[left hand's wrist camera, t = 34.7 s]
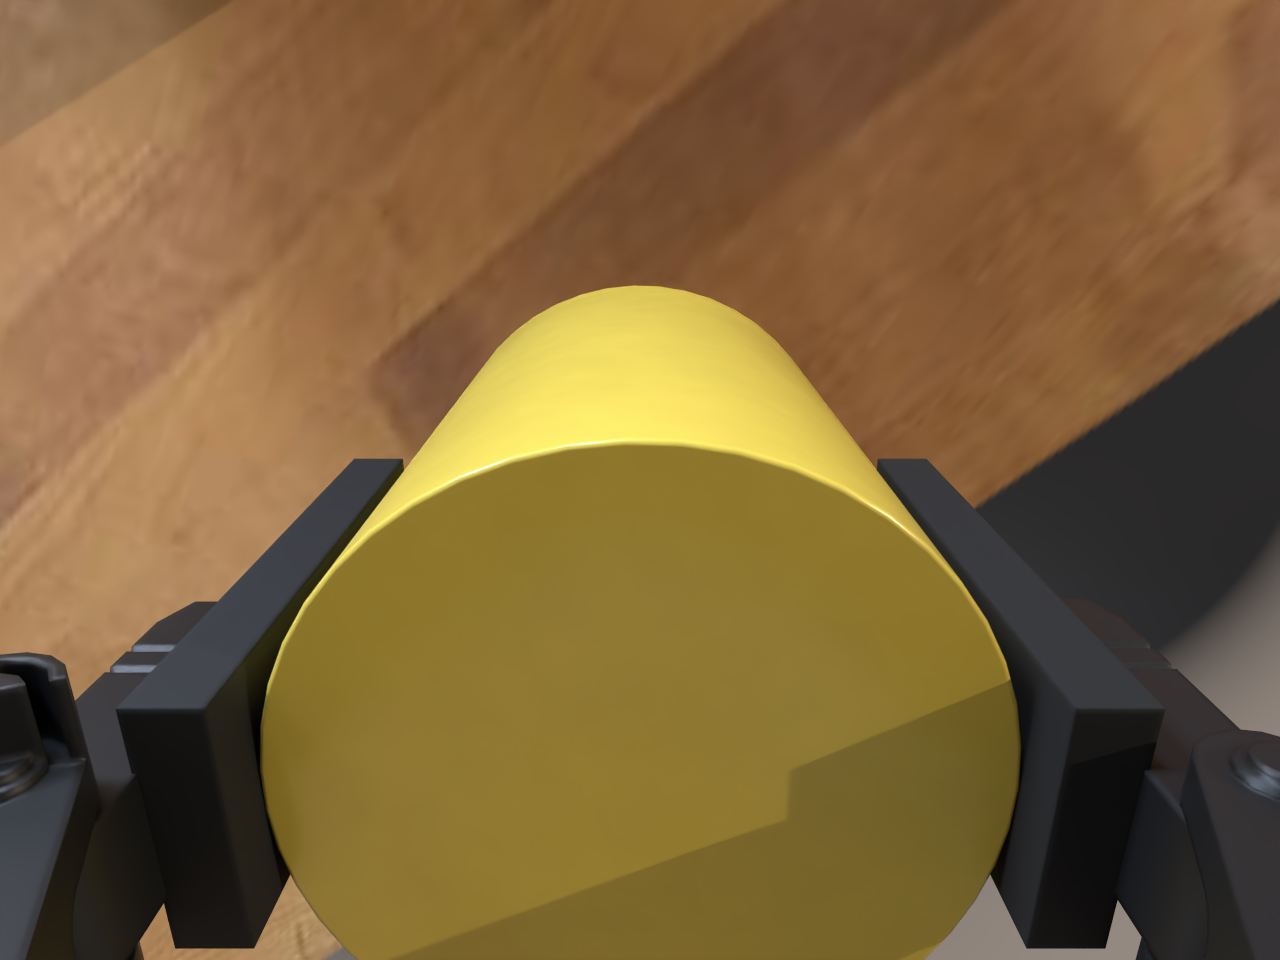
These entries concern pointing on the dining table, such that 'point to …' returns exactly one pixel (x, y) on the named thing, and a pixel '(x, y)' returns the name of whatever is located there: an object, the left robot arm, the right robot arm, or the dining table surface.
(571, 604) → the tin
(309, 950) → the dining table surface
